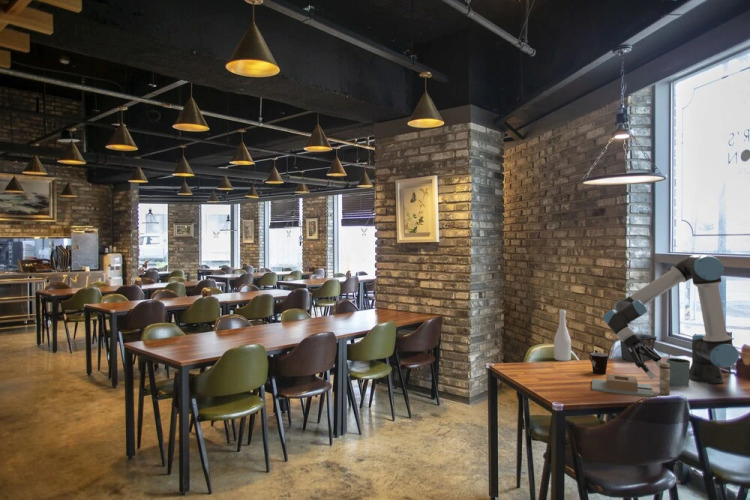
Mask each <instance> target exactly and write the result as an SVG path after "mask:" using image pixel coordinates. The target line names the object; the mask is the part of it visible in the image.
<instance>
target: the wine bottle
mask: <svg viewBox="0 0 750 500" xmlns="http://www.w3.org/2000/svg"><path fill="white" fill-rule="evenodd" d="M558 312H559V313H558V314H559V323H558V327H557V330H556V332H555V336H554V339H553V357H554V360H556V361H558V362H559V361H560V362H561V361H562V362H568V361H570V360H571V359H572V340H571V336H570V333H569V330H568V327H567V324H566V323H567V322H566V321H567V320H566V314H567V311H566V309H559V311H558Z"/></svg>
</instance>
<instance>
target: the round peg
mask: <svg viewBox="0 0 750 500" xmlns="http://www.w3.org/2000/svg"><path fill="white" fill-rule="evenodd" d="M670 385H671V384H670V364H669V363H667V362H662V363H660V368H659V394H660V395H664V396H669V395H670V393H671V391H670V390H671V389H670V387H671V386H670Z"/></svg>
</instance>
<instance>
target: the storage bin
mask: <svg viewBox="0 0 750 500" xmlns="http://www.w3.org/2000/svg"><path fill="white" fill-rule="evenodd" d="M635 334H636V335H637V336H638V337H639V338H640V339H641V341H640V344H642V345H643V344H644V343H645V344H646V345H647V346H648V347H649V348H650V349H652V350H653V351H654V348H655V342H656V341H657V340H658V339H657V338H658V336H657V335H656V336H655V335H650V334H646V333H635ZM619 340H620V339H619ZM619 343H620V352H621V354H620V355H621V359H622V360H625V361H629V362H634V361H633V359H632V356H631V354H630V353H629V351H628V350H627V349H628V348H627V347H626V346H625V345H624V344H623V342H622V341H621V340H620V342H619ZM642 357H643V361H652V360H651V359H650V358H648V357H647V356H645V355H642Z"/></svg>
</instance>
